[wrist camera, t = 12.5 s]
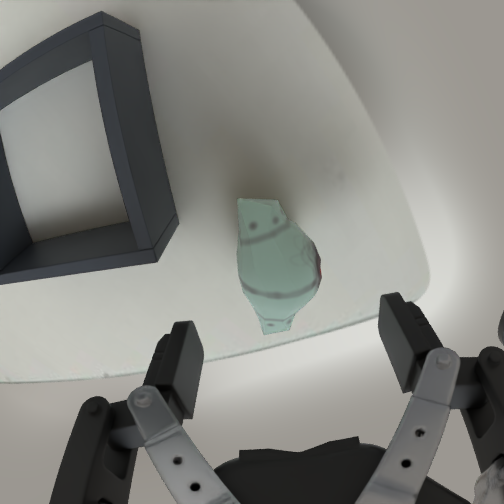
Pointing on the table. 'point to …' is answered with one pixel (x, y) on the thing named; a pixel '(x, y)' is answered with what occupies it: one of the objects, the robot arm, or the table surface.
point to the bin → (121, 147)
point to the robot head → (275, 263)
